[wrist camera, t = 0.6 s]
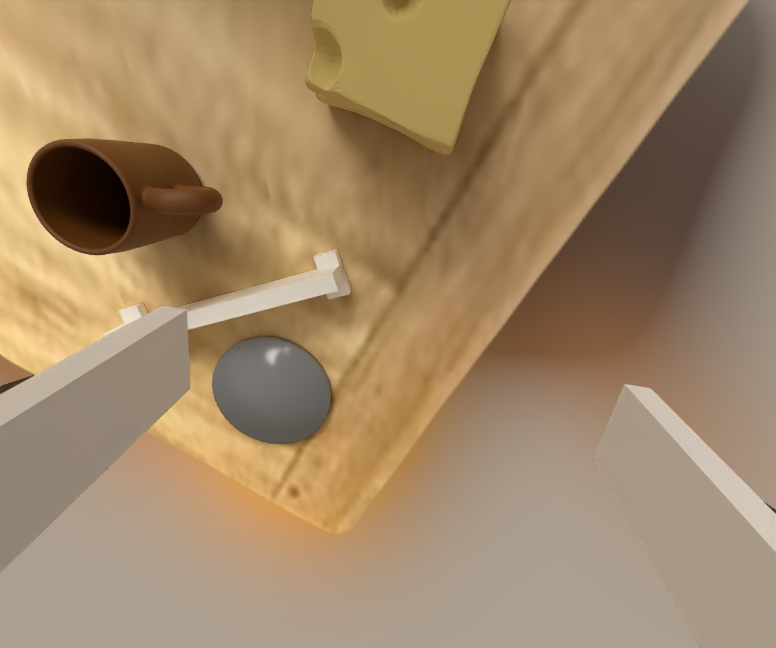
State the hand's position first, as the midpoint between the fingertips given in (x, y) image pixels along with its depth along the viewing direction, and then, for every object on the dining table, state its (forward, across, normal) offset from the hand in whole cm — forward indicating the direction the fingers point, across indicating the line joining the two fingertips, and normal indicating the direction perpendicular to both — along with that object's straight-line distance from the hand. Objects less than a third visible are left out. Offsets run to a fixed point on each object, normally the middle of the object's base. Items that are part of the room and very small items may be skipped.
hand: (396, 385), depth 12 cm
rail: (+25, -16, -8) cm, 30 cm away
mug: (+25, -20, +1) cm, 32 cm away
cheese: (+25, -2, +13) cm, 29 cm away
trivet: (+24, -12, -17) cm, 32 cm away
